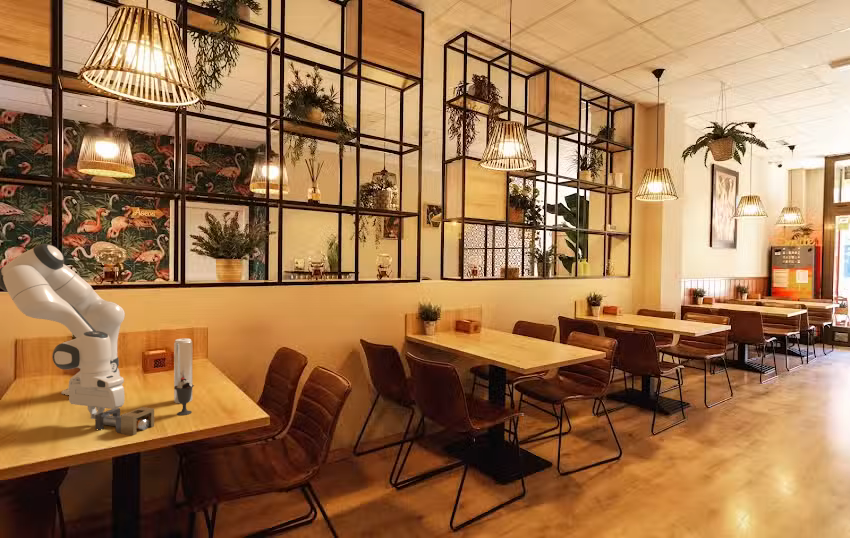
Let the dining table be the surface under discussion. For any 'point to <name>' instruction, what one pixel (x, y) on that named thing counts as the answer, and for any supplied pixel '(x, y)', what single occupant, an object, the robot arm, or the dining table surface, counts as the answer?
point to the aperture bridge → (130, 420)
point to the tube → (112, 419)
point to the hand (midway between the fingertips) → (96, 418)
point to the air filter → (182, 363)
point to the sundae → (184, 394)
